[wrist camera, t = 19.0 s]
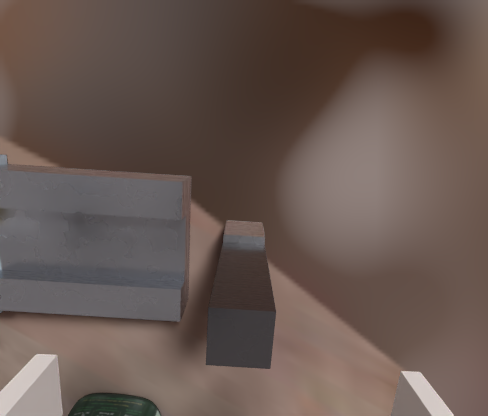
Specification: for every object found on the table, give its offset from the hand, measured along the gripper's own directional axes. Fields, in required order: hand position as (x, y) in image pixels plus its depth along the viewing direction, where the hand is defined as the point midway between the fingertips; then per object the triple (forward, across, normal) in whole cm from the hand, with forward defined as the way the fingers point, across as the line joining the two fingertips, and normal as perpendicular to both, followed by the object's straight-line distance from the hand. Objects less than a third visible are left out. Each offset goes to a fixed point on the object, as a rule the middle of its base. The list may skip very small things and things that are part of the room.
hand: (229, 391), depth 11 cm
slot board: (+16, -12, 0) cm, 20 cm away
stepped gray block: (+16, +1, 0) cm, 16 cm away
